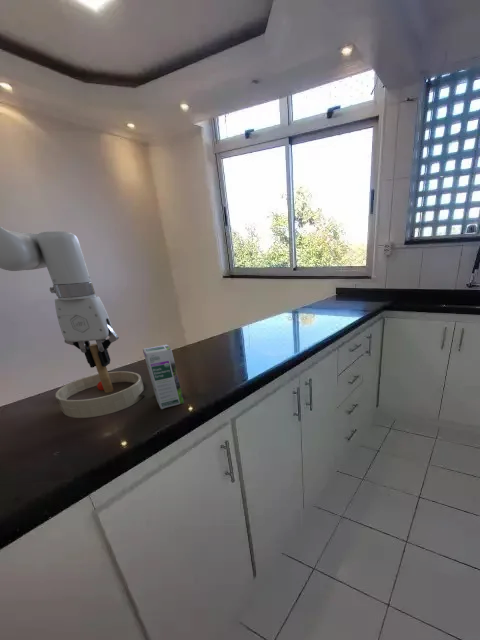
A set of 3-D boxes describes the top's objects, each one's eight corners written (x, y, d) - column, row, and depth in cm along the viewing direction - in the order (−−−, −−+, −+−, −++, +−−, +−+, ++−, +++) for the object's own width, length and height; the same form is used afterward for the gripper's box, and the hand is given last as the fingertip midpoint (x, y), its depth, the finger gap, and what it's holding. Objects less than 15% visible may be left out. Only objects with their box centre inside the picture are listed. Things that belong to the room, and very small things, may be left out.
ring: (45, 421, 73) (37, 404, 71) (85, 388, 90) (80, 374, 88) (129, 414, 75) (124, 397, 73) (154, 383, 92) (150, 369, 90)
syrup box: (160, 410, 76) (145, 353, 69) (156, 401, 80) (141, 347, 74) (184, 403, 79) (171, 348, 72) (179, 395, 83) (166, 343, 77)
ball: (97, 388, 83) (93, 389, 85) (109, 393, 85) (105, 393, 87) (102, 378, 84) (98, 379, 86) (113, 383, 86) (109, 383, 88)
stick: (103, 393, 83) (86, 346, 77) (106, 389, 85) (91, 343, 79) (111, 392, 83) (96, 345, 77) (115, 389, 85) (100, 343, 79)
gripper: (28, 295, 69) (59, 372, 77) (104, 291, 70) (127, 368, 78) (49, 291, 75) (76, 362, 83) (117, 287, 77) (137, 358, 85)
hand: (100, 364), depth 81 cm, fingers closed on stick, 2 cm apart
